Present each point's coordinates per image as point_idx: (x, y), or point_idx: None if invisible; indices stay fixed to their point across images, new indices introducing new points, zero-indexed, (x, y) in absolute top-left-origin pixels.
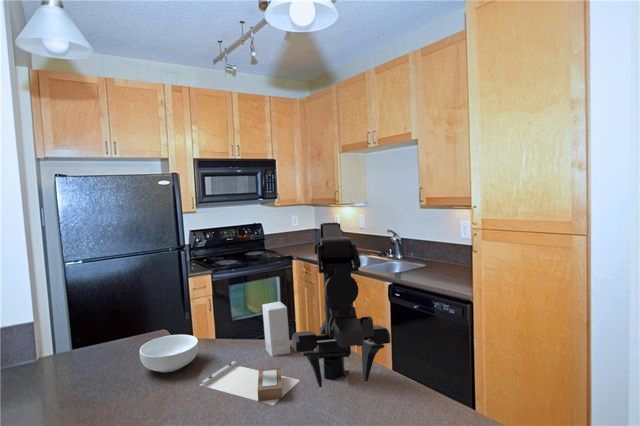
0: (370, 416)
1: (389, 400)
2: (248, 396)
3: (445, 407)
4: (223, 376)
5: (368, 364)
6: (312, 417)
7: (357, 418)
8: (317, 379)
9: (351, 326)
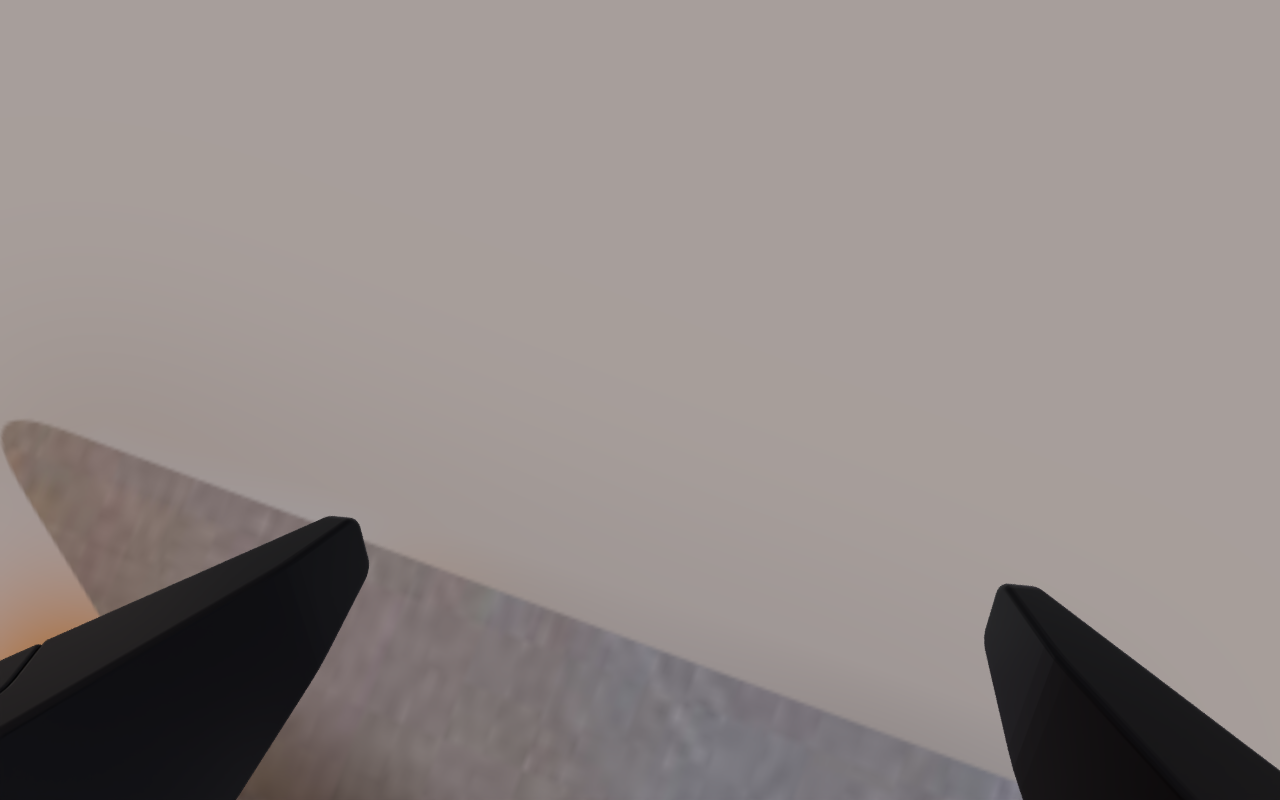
0: (474, 613)
1: (340, 691)
2: None
3: (99, 542)
4: None
5: (92, 658)
6: (771, 716)
7: (543, 623)
8: (1149, 675)
9: None
